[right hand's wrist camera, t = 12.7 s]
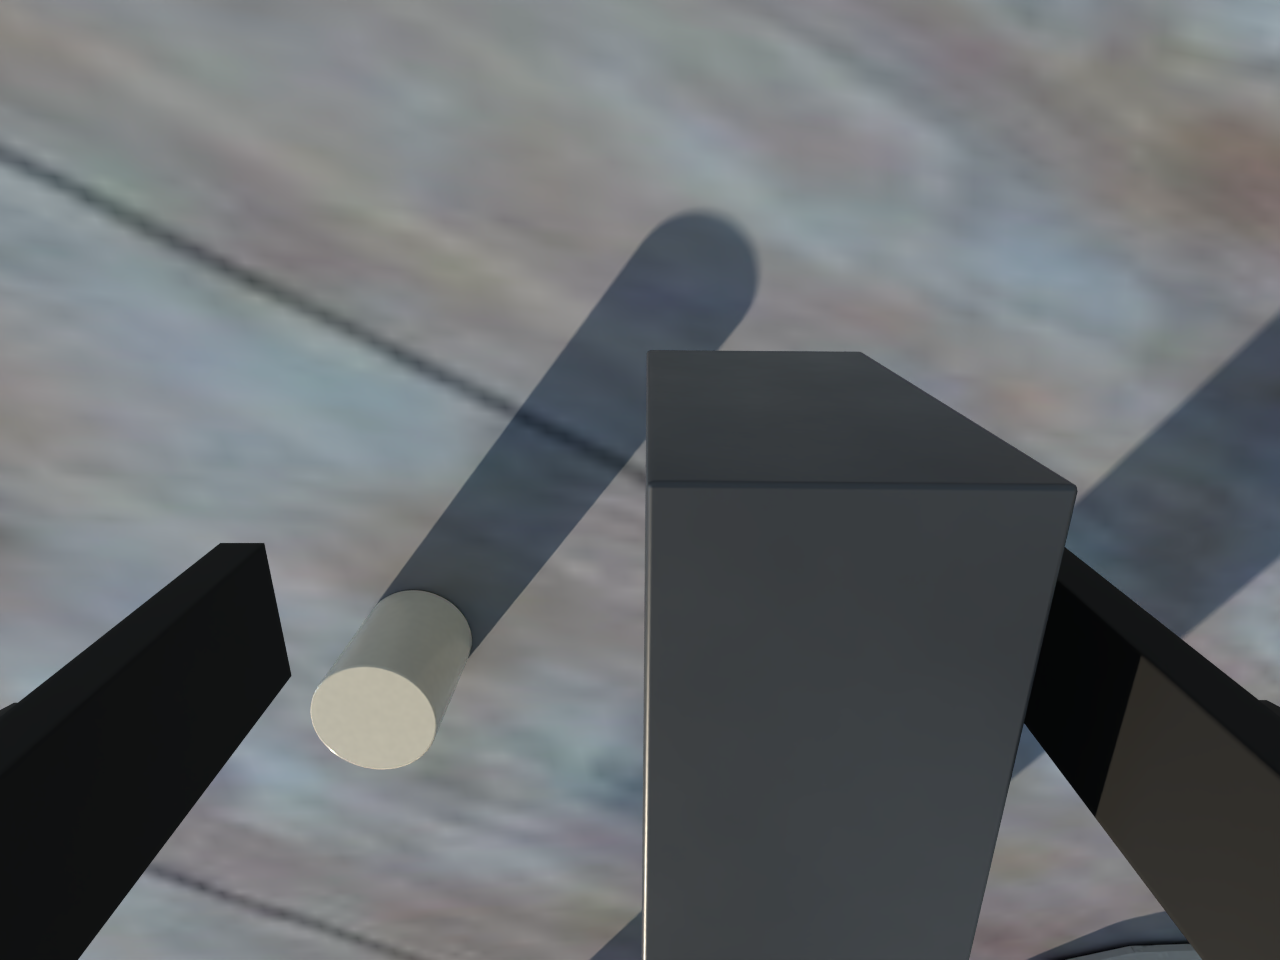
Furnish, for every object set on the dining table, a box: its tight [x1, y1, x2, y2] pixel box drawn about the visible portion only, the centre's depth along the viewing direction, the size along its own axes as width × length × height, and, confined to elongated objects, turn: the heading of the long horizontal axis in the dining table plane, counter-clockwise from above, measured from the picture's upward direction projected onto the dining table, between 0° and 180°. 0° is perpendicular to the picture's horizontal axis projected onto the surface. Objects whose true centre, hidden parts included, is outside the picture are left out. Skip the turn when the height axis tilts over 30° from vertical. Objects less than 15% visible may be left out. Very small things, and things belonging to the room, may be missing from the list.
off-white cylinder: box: [311, 590, 472, 769], centre depth 31 cm, size 5×5×6 cm
